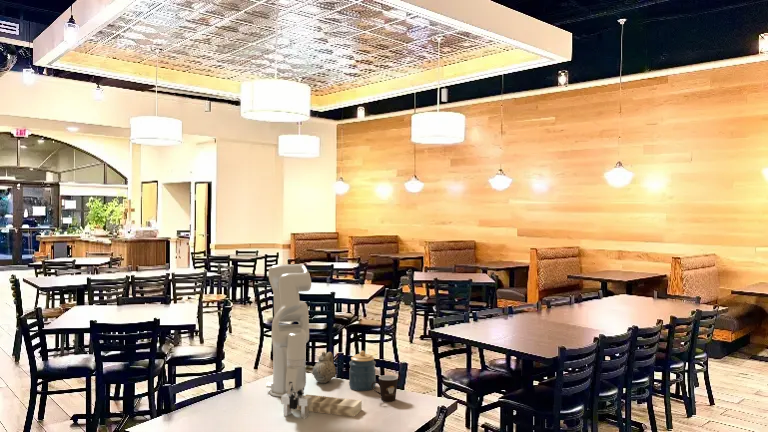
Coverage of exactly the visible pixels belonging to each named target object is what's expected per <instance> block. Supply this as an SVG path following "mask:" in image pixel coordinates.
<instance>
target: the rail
mask: <svg viewBox="0 0 768 432" xmlns="http://www.w3.org/2000/svg"><path fill="white" fill-rule="evenodd" d="M304 396H312V404H310V405H309V413H310V412H313V413H318V414H319V413H321V414H328V415H338V416H345V417H352V418H353V417H355V416H357V415H358V413H360V412H361V411H362V406H363V405H362V401H363V400H360V399H350V398H341V397H333V396H331V397H330V396H326V395H325V396H324V395H314V394H305V395H304ZM296 410H297V411H301V406H299V405H297V409H296Z"/></svg>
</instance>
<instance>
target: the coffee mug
mask: <svg viewBox="0 0 768 432" xmlns="http://www.w3.org/2000/svg"><path fill="white" fill-rule="evenodd" d="M398 379H399V377H398V376H396V375H391V374H385V375H380V376H379V377H378V381H377V380H376V381H375V382H373V383H372V385H371V387H372V389H371V390H373V391H374V392H375V393H377V394H378V395H380V401H382V402H385V403H393V402H394V401H396V398H397V397H396V396H397V390H398V382H399V381H398ZM374 383H376V384H378V386H379V390H380V391H377V390H376V389H375V388H374V389H373V384H374Z"/></svg>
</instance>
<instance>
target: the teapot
mask: <svg viewBox="0 0 768 432" xmlns="http://www.w3.org/2000/svg"><path fill="white" fill-rule="evenodd" d="M333 355H334V354H333V353H332V352H331V351H328V352H327V353H326V351H322V352H321V355H320V356H318V361H317V362H316V363H315V364H314V366H313V367H312V376H313V378H314V379H315V381H316V382H317V383H320V384H326V383H328V382H329V381H331V380H332V379H333V378H334V377H335V376H336V374H337V371H336V366H335V364H334V356H333Z"/></svg>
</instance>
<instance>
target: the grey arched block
mask: <svg viewBox="0 0 768 432" xmlns="http://www.w3.org/2000/svg"><path fill="white" fill-rule="evenodd" d="M293 395H294V394H293ZM296 399H297V405H299V406H301V410H300V411H301V412H300V419H306V418H307V417H309V416H310V411H309V405H310V404H312V396H305V395H304V394H303V395H298V394H297V396H296ZM280 401H281V402H280V404H282V405H283V417H289V416H290V415H291V414H293V409H290V408H289V396H288V395H287V394H284V395H282V396H281V397H280Z"/></svg>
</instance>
